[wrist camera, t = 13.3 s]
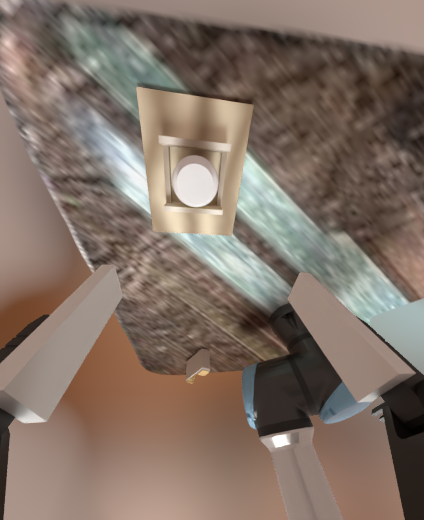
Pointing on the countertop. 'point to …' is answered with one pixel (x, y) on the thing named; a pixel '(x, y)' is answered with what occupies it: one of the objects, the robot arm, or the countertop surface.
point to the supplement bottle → (195, 181)
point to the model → (198, 365)
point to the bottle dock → (192, 143)
